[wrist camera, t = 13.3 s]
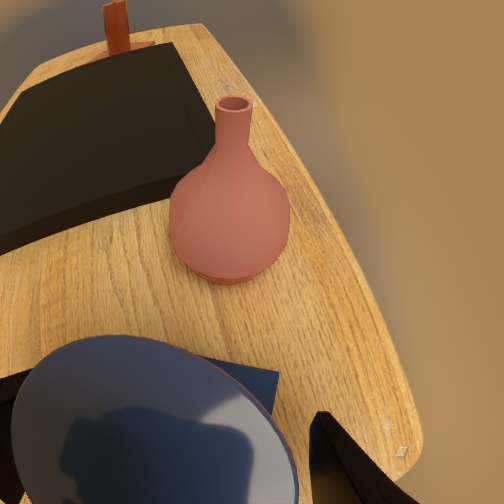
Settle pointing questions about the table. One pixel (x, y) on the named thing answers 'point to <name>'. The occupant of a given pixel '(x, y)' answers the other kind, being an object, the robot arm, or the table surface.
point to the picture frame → (99, 142)
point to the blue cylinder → (144, 430)
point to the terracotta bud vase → (229, 205)
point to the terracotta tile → (133, 47)
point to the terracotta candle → (116, 27)
